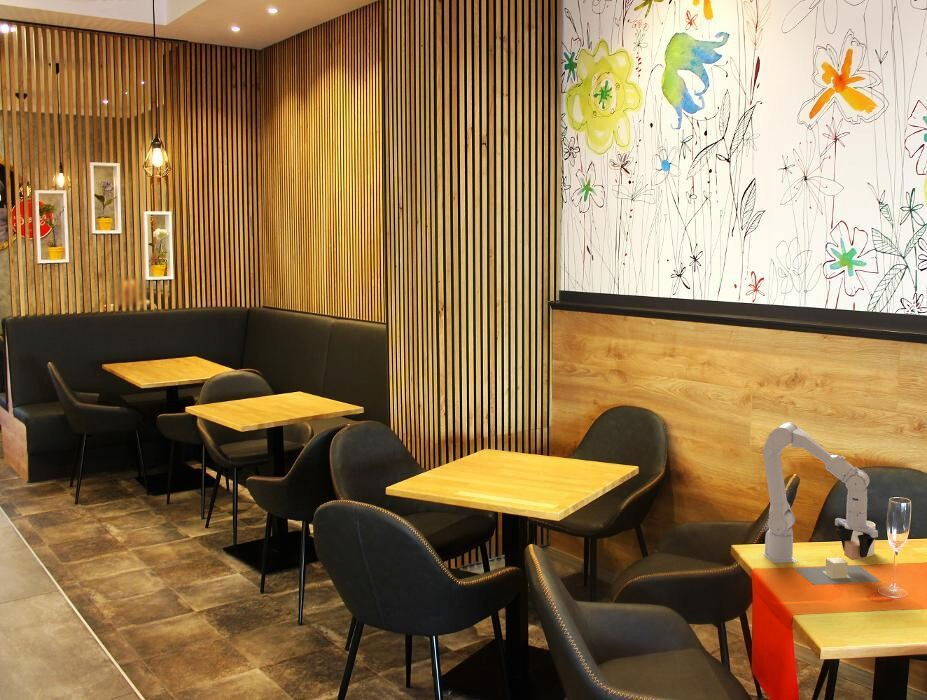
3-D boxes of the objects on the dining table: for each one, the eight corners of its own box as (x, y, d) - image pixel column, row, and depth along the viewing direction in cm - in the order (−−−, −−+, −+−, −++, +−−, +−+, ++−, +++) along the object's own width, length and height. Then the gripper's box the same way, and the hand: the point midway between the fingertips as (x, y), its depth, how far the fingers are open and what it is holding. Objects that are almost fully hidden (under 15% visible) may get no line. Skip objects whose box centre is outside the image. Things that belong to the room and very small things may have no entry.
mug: (878, 563, 294) (879, 531, 293) (850, 561, 296) (851, 529, 295) (872, 550, 305) (873, 520, 304) (845, 548, 307) (846, 518, 306)
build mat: (793, 569, 289) (793, 567, 289) (858, 566, 291) (858, 564, 291) (813, 586, 275) (813, 584, 275) (881, 583, 277) (881, 581, 277)
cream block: (825, 572, 285) (826, 558, 284) (839, 571, 285) (839, 557, 285) (833, 577, 280) (833, 563, 280) (847, 576, 281) (847, 562, 280)
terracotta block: (844, 554, 288) (844, 540, 287) (858, 554, 288) (858, 540, 287) (851, 559, 283) (851, 545, 282) (865, 559, 283) (866, 545, 283)
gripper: (828, 506, 288) (826, 548, 290) (866, 518, 275) (865, 563, 277) (844, 503, 291) (843, 545, 293) (883, 515, 278) (881, 559, 280)
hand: (855, 553), depth 285 cm, fingers closed on terracotta block, 6 cm apart
